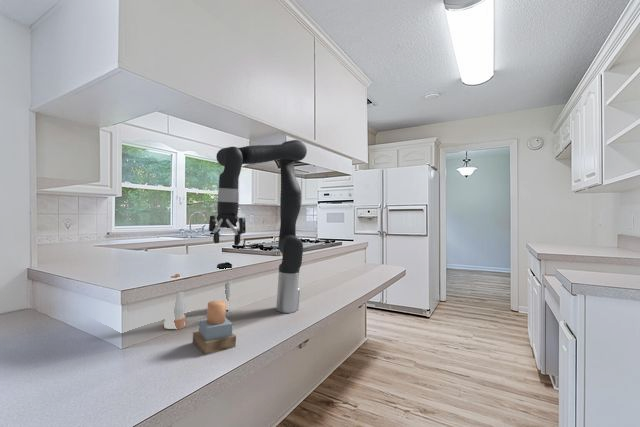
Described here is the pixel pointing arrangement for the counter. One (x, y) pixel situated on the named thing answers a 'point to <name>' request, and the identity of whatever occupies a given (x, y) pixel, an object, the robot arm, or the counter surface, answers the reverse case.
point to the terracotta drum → (216, 312)
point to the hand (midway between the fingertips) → (226, 244)
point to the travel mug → (228, 284)
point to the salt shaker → (179, 308)
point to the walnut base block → (213, 343)
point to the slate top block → (215, 329)
